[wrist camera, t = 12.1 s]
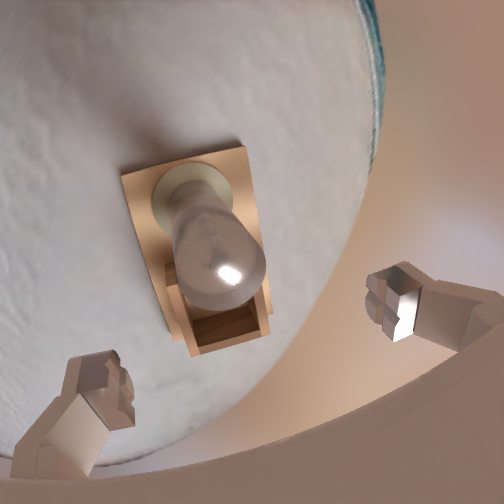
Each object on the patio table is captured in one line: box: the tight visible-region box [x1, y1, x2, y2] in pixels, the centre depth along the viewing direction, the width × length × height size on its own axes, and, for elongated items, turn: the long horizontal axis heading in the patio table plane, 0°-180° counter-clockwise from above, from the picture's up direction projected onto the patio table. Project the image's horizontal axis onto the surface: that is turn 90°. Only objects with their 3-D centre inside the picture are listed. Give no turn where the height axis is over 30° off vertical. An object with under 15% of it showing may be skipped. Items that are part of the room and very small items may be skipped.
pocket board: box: [121, 145, 273, 357], centre depth 26 cm, size 16×10×5 cm, turn 10°
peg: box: [168, 180, 266, 311], centre depth 19 cm, size 4×4×12 cm
